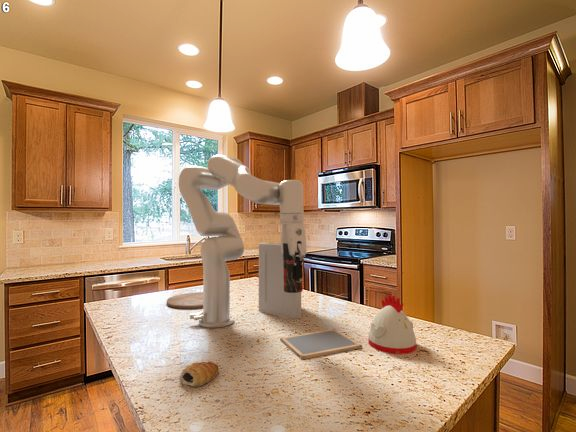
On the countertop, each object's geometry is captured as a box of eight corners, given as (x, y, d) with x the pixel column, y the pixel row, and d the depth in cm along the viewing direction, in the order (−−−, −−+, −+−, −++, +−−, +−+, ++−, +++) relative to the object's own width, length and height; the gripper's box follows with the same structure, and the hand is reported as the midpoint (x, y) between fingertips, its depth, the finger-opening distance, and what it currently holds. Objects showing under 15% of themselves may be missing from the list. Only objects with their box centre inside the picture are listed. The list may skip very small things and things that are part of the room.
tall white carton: (315, 310, 134) (315, 243, 134) (294, 319, 122) (294, 245, 122) (279, 303, 145) (280, 241, 146) (257, 310, 134) (257, 243, 134)
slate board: (301, 359, 87) (301, 356, 87) (280, 340, 101) (280, 337, 101) (361, 347, 95) (361, 344, 95) (334, 331, 109) (334, 329, 109)
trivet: (154, 304, 145) (155, 299, 145) (199, 293, 165) (199, 290, 165) (190, 313, 130) (190, 308, 130) (234, 300, 151) (234, 296, 151)
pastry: (206, 367, 83) (206, 352, 83) (225, 374, 79) (226, 358, 79) (176, 383, 75) (176, 366, 75) (197, 391, 71) (197, 374, 71)
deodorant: (301, 293, 97) (300, 243, 97) (281, 292, 98) (281, 243, 98) (304, 289, 103) (303, 242, 103) (286, 288, 104) (285, 242, 104)
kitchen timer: (391, 357, 88) (391, 303, 88) (359, 341, 100) (359, 293, 101) (426, 348, 95) (426, 297, 95) (391, 333, 107) (391, 288, 107)
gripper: (315, 218, 94) (316, 280, 94) (291, 219, 110) (292, 272, 110) (292, 219, 91) (293, 282, 91) (271, 220, 107) (272, 274, 107)
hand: (293, 276), depth 100 cm, fingers closed on deodorant, 5 cm apart
